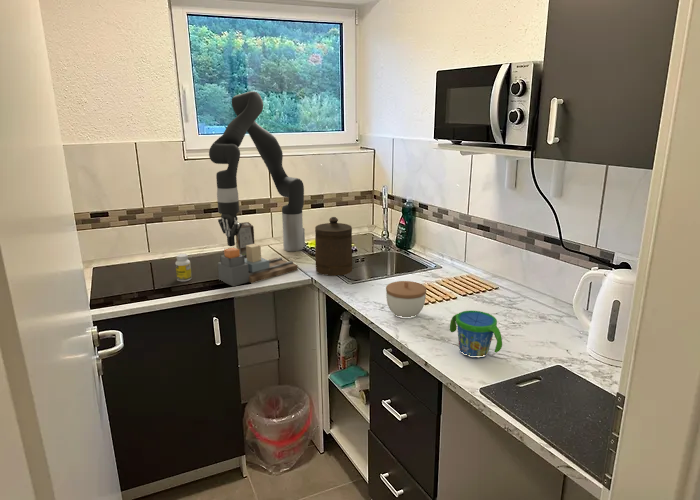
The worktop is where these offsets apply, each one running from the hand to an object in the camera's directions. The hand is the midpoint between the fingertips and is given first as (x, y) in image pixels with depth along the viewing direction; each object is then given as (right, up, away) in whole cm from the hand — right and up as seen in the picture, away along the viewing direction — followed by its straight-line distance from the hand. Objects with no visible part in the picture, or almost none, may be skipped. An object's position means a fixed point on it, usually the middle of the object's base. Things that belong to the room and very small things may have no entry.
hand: (231, 245), depth 181 cm
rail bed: (+10, -11, +14) cm, 20 cm away
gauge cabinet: (0, -13, +4) cm, 14 cm away
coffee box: (0, -7, +28) cm, 29 cm away
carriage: (+7, -9, +10) cm, 15 cm away
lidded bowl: (+62, -22, -26) cm, 71 cm away
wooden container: (+38, -10, +16) cm, 42 cm away
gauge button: (0, -4, +1) cm, 5 cm away
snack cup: (+78, -30, -50) cm, 97 cm away
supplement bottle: (-19, -13, +6) cm, 24 cm away
